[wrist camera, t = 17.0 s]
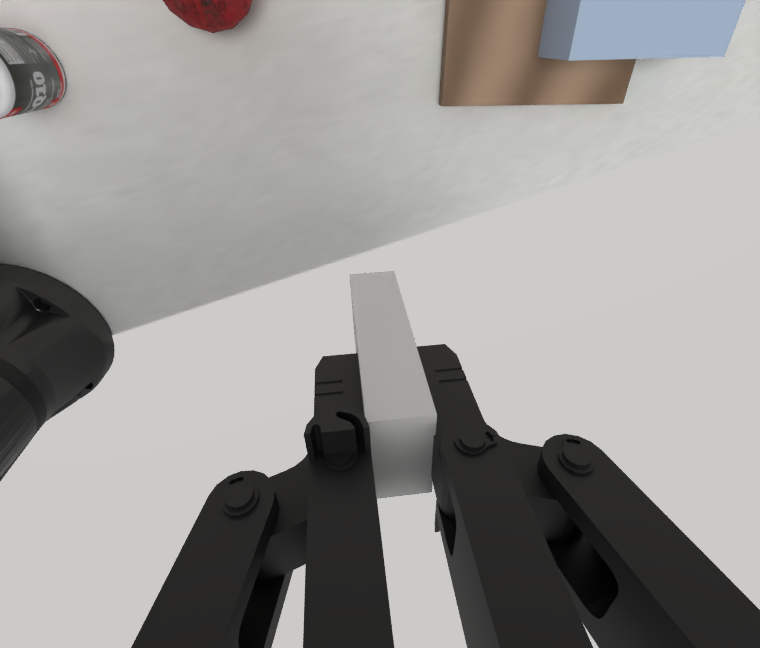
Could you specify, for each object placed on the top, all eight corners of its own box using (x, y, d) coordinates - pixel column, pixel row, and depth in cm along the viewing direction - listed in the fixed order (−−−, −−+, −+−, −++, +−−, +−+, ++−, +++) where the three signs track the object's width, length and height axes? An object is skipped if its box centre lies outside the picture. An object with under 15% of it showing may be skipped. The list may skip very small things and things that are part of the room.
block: (568, 60, 26) (726, 56, 26) (590, -48, 23) (767, -50, 23) (537, 57, 30) (674, 53, 30) (552, -35, 27) (703, -37, 27)
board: (438, 104, 32) (441, 106, 31) (452, -96, 26) (456, -101, 25) (614, 101, 33) (622, 103, 32) (669, -93, 27) (681, -98, 26)
